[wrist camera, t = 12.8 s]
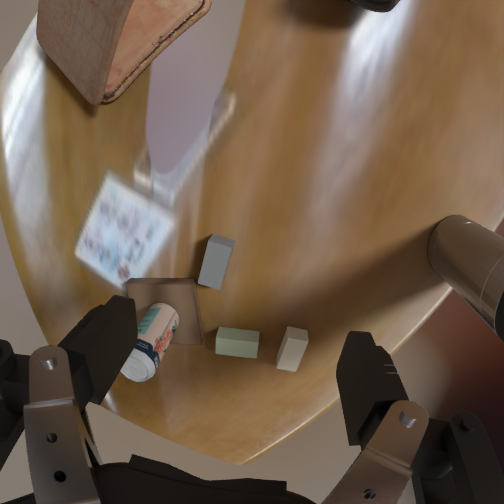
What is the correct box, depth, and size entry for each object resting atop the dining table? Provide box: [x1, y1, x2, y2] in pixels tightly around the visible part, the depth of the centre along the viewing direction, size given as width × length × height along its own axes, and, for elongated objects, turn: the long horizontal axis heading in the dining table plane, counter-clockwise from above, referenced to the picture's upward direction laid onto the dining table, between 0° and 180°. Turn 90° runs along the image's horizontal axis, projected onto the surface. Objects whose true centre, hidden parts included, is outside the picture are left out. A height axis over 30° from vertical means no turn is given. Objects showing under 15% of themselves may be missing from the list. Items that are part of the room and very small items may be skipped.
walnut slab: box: [126, 278, 204, 345], centre depth 43 cm, size 10×10×2 cm
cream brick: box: [276, 326, 309, 372], centre depth 43 cm, size 6×3×3 cm, turn 167°
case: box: [36, 0, 212, 105], centre depth 22 cm, size 20×21×16 cm
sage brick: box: [215, 327, 260, 359], centre depth 43 cm, size 6×3×3 cm, turn 85°
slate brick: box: [198, 234, 235, 290], centre depth 39 cm, size 6×3×3 cm, turn 163°
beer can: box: [120, 303, 179, 382], centre depth 36 cm, size 5×5×12 cm
